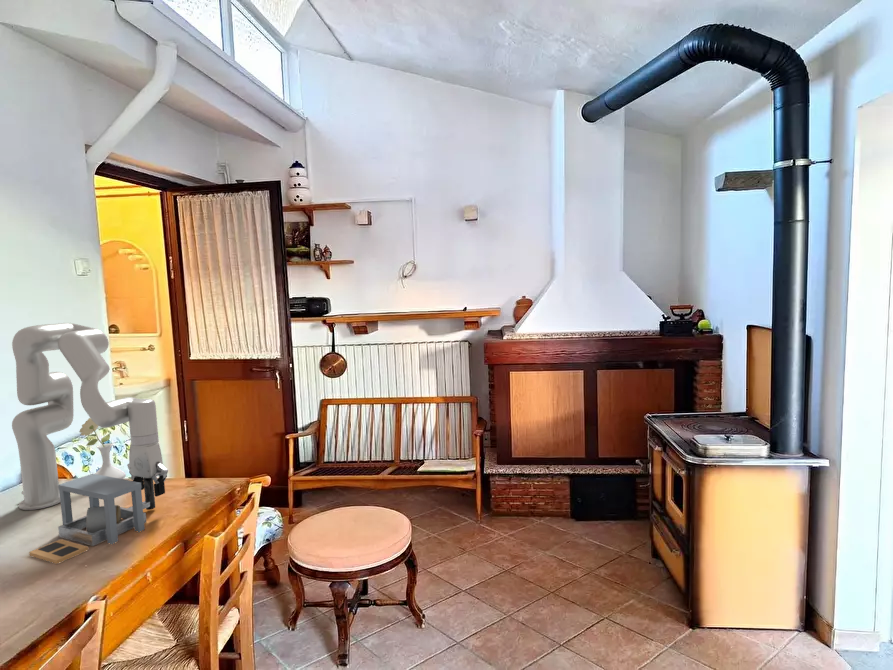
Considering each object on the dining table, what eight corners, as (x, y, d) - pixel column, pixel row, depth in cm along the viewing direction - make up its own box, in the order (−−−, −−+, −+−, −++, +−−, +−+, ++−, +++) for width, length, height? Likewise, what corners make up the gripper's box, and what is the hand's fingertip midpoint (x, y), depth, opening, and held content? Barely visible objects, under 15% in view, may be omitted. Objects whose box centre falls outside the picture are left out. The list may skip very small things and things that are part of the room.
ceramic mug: (120, 533, 160) (118, 507, 159) (87, 539, 156) (84, 513, 156) (123, 520, 169) (120, 495, 169) (91, 526, 166) (88, 501, 165)
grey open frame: (59, 536, 158) (55, 500, 157) (138, 504, 180) (136, 472, 179) (92, 546, 151) (88, 508, 150) (170, 511, 173) (168, 478, 172)
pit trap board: (29, 555, 148) (29, 551, 148) (61, 542, 155) (60, 538, 155) (56, 564, 143) (56, 560, 143) (88, 550, 150) (87, 546, 150)
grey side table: (62, 531, 162) (58, 484, 161) (97, 518, 171) (92, 473, 170) (111, 544, 153) (107, 495, 151) (145, 529, 162) (141, 482, 160)
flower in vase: (117, 475, 211) (111, 409, 208) (132, 480, 204) (126, 413, 202) (78, 486, 200) (72, 417, 198) (93, 492, 193) (86, 421, 191)
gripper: (115, 440, 173) (119, 493, 175) (152, 445, 166) (157, 501, 168) (137, 433, 180) (142, 485, 182) (174, 438, 173) (179, 492, 174)
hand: (149, 492), depth 175 cm, fingers open, 9 cm apart
